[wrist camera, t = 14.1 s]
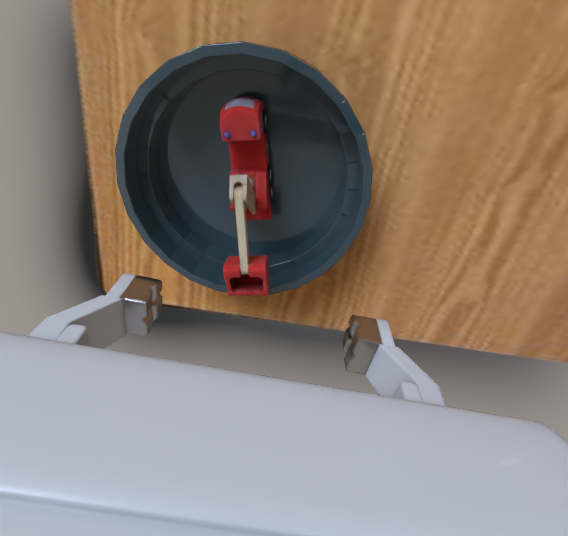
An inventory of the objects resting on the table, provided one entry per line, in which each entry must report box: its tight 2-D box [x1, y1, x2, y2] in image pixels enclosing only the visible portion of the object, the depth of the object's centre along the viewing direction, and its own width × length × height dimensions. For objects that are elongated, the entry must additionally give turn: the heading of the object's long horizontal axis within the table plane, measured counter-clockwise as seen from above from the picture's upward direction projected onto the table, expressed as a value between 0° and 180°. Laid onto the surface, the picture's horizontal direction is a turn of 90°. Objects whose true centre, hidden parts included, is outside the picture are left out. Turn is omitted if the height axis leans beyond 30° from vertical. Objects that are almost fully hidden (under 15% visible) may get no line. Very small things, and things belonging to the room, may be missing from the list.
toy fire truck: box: [220, 96, 273, 296], centre depth 28 cm, size 3×14×10 cm, turn 3°
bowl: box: [115, 41, 372, 295], centre depth 30 cm, size 20×20×6 cm
